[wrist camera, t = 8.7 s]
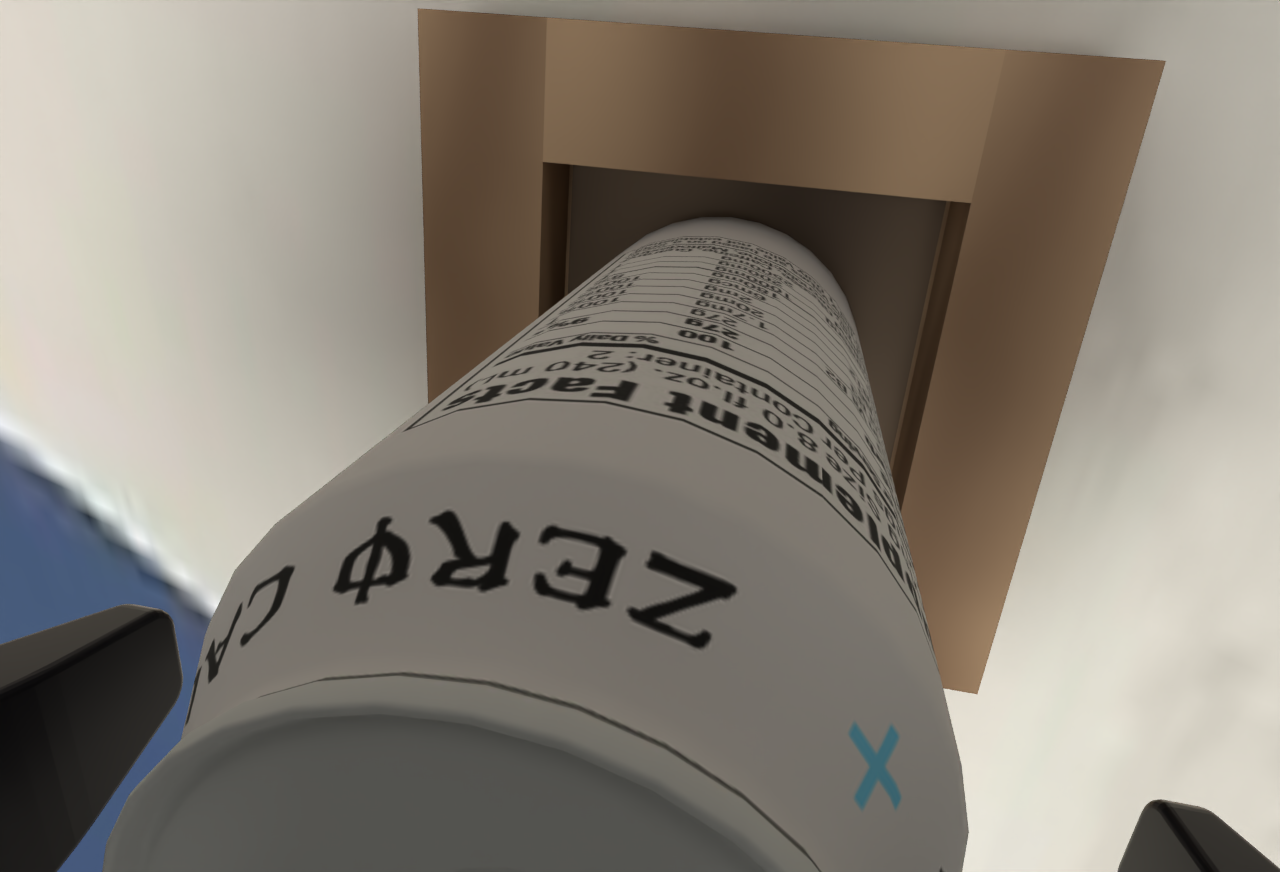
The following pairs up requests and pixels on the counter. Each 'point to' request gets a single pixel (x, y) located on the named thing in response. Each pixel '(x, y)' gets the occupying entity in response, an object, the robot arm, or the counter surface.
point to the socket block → (807, 228)
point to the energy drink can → (588, 613)
